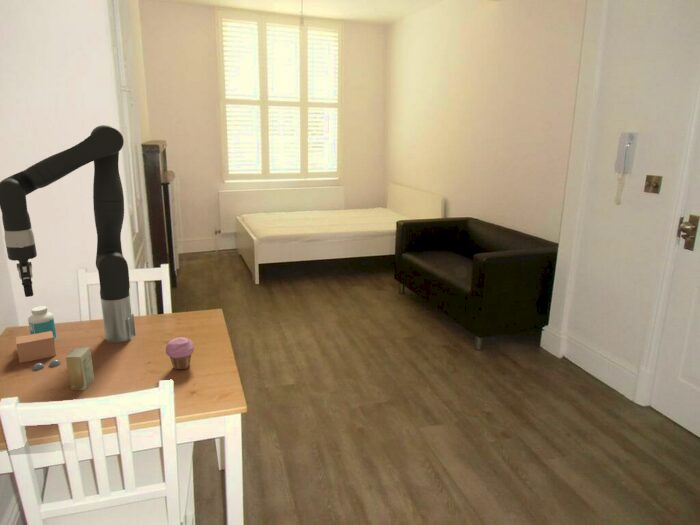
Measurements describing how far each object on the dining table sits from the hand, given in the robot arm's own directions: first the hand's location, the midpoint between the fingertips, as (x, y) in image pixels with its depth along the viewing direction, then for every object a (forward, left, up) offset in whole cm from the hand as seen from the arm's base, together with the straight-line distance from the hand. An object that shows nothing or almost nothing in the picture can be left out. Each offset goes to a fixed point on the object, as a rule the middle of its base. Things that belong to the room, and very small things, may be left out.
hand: (28, 292), depth 152 cm
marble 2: (-9, +9, -21) cm, 25 cm away
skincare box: (-22, +23, -23) cm, 39 cm away
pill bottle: (+2, -10, -23) cm, 25 cm away
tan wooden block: (-1, +2, -23) cm, 23 cm away
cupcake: (-48, +12, -23) cm, 54 cm away
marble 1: (-5, +11, -21) cm, 24 cm away
